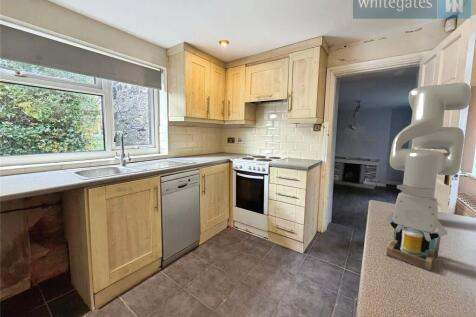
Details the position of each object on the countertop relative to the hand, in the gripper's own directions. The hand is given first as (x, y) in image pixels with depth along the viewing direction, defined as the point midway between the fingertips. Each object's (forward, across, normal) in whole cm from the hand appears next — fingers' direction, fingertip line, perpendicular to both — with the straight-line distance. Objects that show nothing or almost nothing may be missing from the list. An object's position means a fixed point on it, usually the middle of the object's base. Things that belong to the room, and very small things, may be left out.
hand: (411, 246), depth 66 cm
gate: (+3, 0, +6) cm, 7 cm away
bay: (+3, 0, 0) cm, 3 cm away
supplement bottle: (+2, 0, 0) cm, 2 cm away
